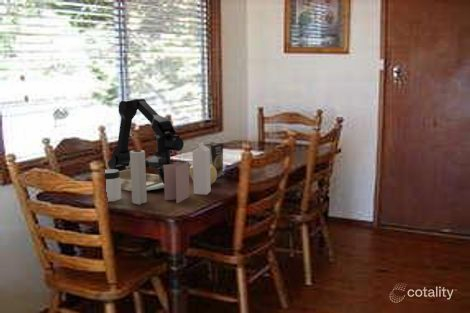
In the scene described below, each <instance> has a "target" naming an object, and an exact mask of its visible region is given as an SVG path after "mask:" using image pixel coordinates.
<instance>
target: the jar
mask: <svg viewBox="0 0 470 313" xmlns="http://www.w3.org/2000/svg"><path fill="white" fill-rule="evenodd" d="M104 170H105V178H106V192H107V197H108V201H107V202H116V201H119V200H122V189H121V180H120V173H119V170H116V169H112V168H109V169H104Z"/></svg>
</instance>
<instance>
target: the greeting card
mask: <svg viewBox="0 0 470 313" xmlns="http://www.w3.org/2000/svg"><path fill="white" fill-rule="evenodd" d="M163 189H164V201H172V200H176V204H178V203H180V202H183V201H184V200H186V199H188V198H190V166H189V161H186V162H185V161H184V163H177V164H169V165H164V188H163Z"/></svg>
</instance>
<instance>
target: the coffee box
mask: <svg viewBox="0 0 470 313" xmlns="http://www.w3.org/2000/svg"><path fill="white" fill-rule="evenodd" d="M203 145H204V146H206V147H207V148H209V149H210V163H211V164H212V165H213V166H214V167H215V168H216V171H217V178H220V177H222V176H221V175H223V176H224V143H222V142H209V143H206V144H203Z"/></svg>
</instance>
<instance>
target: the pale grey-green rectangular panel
mask: <svg viewBox="0 0 470 313" xmlns="http://www.w3.org/2000/svg"><path fill="white" fill-rule="evenodd" d="M161 189H164V184H163V182H160V183H159V184H156V185H153V186H150V187H147V188H146V192H147V191H151V190H161Z"/></svg>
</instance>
